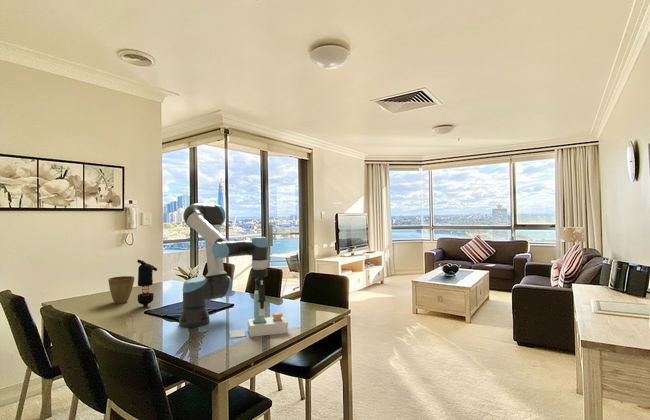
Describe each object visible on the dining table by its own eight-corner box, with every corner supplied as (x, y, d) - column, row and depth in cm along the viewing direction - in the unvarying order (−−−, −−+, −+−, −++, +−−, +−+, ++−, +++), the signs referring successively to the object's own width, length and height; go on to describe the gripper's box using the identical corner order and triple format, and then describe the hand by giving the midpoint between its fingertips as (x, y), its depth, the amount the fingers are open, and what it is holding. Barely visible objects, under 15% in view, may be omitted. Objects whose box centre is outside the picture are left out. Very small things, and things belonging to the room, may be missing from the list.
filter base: (250, 336, 156) (250, 326, 157) (247, 329, 167) (247, 319, 167) (287, 332, 162) (287, 322, 162) (283, 325, 173) (283, 315, 173)
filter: (142, 309, 201) (142, 260, 202) (132, 307, 205) (133, 259, 206) (161, 304, 214) (162, 257, 214) (152, 302, 218) (152, 256, 218)
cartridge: (254, 334, 160) (254, 292, 160) (253, 330, 165) (253, 290, 165) (265, 333, 162) (265, 291, 162) (263, 329, 167) (264, 289, 167)
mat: (230, 338, 154) (230, 337, 154) (229, 331, 163) (229, 331, 163) (245, 336, 157) (245, 335, 157) (244, 330, 165) (244, 329, 165)
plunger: (273, 324, 163) (273, 316, 163) (271, 321, 168) (271, 313, 168) (283, 323, 165) (283, 315, 165) (281, 320, 169) (281, 312, 169)
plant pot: (125, 305, 211) (125, 280, 212) (102, 305, 212) (102, 279, 212) (139, 299, 226) (139, 275, 227) (117, 299, 226) (117, 275, 227)
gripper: (271, 271, 153) (271, 317, 153) (263, 264, 177) (263, 304, 176) (255, 272, 151) (255, 319, 150) (249, 265, 174) (249, 306, 174)
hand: (259, 311), depth 163 cm, fingers open, 13 cm apart
